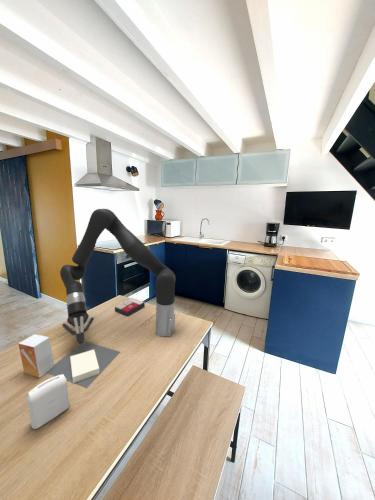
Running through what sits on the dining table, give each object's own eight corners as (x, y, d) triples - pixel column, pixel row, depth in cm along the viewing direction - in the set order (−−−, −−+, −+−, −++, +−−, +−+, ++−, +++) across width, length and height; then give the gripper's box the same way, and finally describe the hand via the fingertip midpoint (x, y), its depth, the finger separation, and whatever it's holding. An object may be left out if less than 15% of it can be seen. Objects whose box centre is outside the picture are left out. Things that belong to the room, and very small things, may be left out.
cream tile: (70, 356, 85) (72, 377, 75) (94, 349, 90) (99, 368, 80) (70, 361, 85) (73, 383, 75) (94, 354, 90) (99, 373, 80)
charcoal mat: (120, 352, 93) (120, 351, 92) (86, 389, 74) (86, 388, 74) (84, 342, 98) (84, 341, 98) (44, 373, 80) (44, 372, 80)
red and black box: (114, 306, 127) (132, 296, 139) (114, 312, 128) (132, 302, 140) (127, 311, 121) (144, 301, 134) (127, 318, 122) (144, 307, 135)
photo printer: (33, 433, 59) (28, 397, 57) (29, 422, 62) (24, 388, 60) (71, 407, 67) (68, 375, 65) (66, 399, 70) (63, 368, 67)
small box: (23, 373, 79) (17, 343, 77) (40, 362, 85) (34, 333, 82) (39, 378, 77) (33, 347, 74) (55, 366, 82) (49, 336, 80)
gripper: (59, 304, 89) (62, 346, 82) (92, 298, 96) (98, 336, 89) (59, 310, 95) (63, 349, 87) (91, 304, 102) (96, 340, 94)
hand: (81, 342), depth 88 cm, fingers closed
